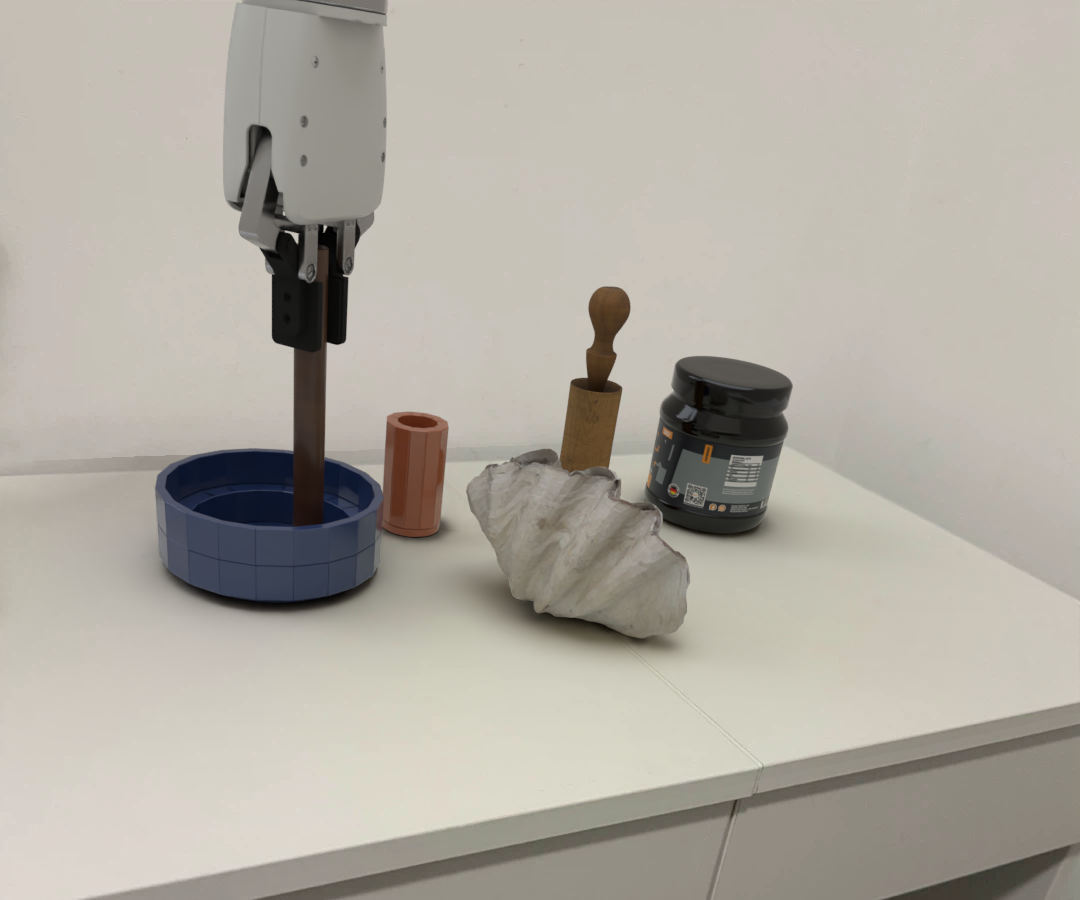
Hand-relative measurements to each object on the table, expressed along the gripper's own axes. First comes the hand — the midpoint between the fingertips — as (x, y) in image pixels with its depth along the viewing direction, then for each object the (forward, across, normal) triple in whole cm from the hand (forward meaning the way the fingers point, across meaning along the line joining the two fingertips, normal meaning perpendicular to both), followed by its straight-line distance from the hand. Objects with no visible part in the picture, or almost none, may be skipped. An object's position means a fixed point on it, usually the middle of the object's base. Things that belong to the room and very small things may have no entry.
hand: (309, 341), depth 65 cm
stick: (+13, 0, 0) cm, 13 cm away
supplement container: (+15, -29, +21) cm, 39 cm away
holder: (+15, -10, +3) cm, 18 cm away
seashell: (+15, -4, +18) cm, 23 cm away
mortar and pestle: (+15, -19, +13) cm, 27 cm away
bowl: (+15, +2, -1) cm, 15 cm away
